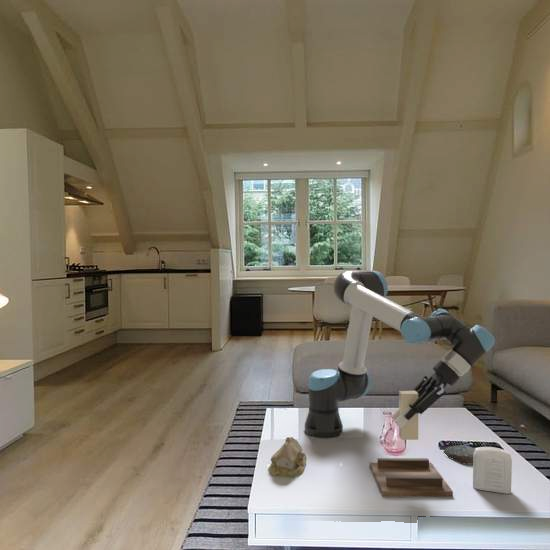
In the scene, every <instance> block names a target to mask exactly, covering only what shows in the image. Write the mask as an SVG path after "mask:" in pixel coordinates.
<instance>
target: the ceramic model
mask: <svg viewBox="0 0 550 550" xmlns="http://www.w3.org/2000/svg"><path fill="white" fill-rule="evenodd" d="M270 462H271V463H270V465H269V467H268V468H267V470H268V472H269V474H270V475H271V476H275V477H285V478H295V477H298V476H300V475H302V474H303V472H304V470H305V469H306V466H307V456H306V453H305V452H303V448H302V446H301V445H300V443H299V441H298V440H297V439H295V438H294V437H293V436H290V437H289V436H288V437H286V439H285V442H284V443H283V444H282V446H280V448H279V449H278V450H277V451H276V452H275V453H274V454H273V455H272V456H271V457H270Z"/></svg>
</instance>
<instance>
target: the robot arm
mask: <svg viewBox="0 0 550 550" xmlns="http://www.w3.org/2000/svg"><path fill="white" fill-rule="evenodd" d="M388 291H389V288H388V282H387V279H386V278H385V276H384V275H383V273H381V272H380V271H378V270H370V269H367V270H347V271H343V272H341V273H340V274H339V275H338V276H337V277H336V278H335V280H334V282H333V292H334V295H335V297H336V298H337V299H338V300H339V301H340V302H342V303H343V304H345V305H347V306H349V307H351V311H350V317H349V321H348V329H347V335H346V339H345V340H346V341H345V347H344V353H343V359H342V361H341V362H339V363H338V366H337V370H335V369H332V368H325V369H323V368H322V369H318V370H315V371H313V372H311V373H310V375H309V377H308V384H307V387H308V413H307V415H306V418H305V423H304V432H305V434H307V435H309V436H312V437H316V438H323V439H325V438H327V439H329V438H335V437H339V436H341V435H342V434H343V432H344V429H343V428H344V426H343V423H342V419H341V416H340V413H339V402H340V403H341V402H344V401H348V400H354V399H355V400H356V399H359V398H361V397H364V396H366V395H367V394H368V392H369V390H370V388H371V378H370V374H369V373H368V369H367V367H366V366H365V362H366V361H365V360H366V356H367V352H368V344H369V337H370V334H371V328H372V321H373V318H375V319H377V320H378V321H380V322H383V323H384V324H385V325H388V326H390V327H391V328H393V329H394V330H397V331H398V332H400V333H401V337H402V338H403V339H404V341H405V342H406V343H409V344H411V345H412V344H415V345H416V344H417V345H421V344H424V343H430V342H436V341H442V340H443V341H444V340H446V341H447V342H448V343H449V344H450V345H452V348H451V349H449V351H447V352H446V354H444V356H443V357H442V360H439V361H438V362H437V363H435V365H434V366H433V367H432V370H433V372H434V373H433V374H432V375H430V376H427V375H424V376H423V377H422V378H421V381H420V382H418V384H416V386H415V387H414V388H413V389H412V390H411V391H416V392H417V393H418V399H417V401H416V402H415V403H414V404H413V405H409V406H410V407H408V408H407V409H406V410H405V411H404V412H403V413H402V414H401V415H400V416H399V408H398V409H397V410H396V412H394V413H393V414H392V415H391V416H390V418H391V419H392V420H393V423H394V424H396V426H398V428H399V427H400V428H402V427H403V426H404V425H405V424H406V423H407V422H408V421H409V420H410V419H411V418H412V417H413V416H414V415H415V414H416V413H417V414H418V415H422V414H423V413H425V411H427V410H428V409H429V408H430V407H431V406H432V405H433V404H434V403H435V402H437V401H438V400H439V399H440V398H441V397H443V396H445V395H446V393H447V392H446V391H445V390H444V389H445V388H446V387H447V385H449V386H450V387H452V386H454V385H455V384H456V383H457V382H458V381H459V380H460V377H463V376H464V375H465V374H466V373H469V370H471V368H472V367H473V366H474V365H475V364H476V363H477V362H478V361H479V360H480V359H482V358H483V357H484V355H485V354H487V353H488V352H489V350H490V349H491V348H492V347H493V346H494V345H495V343H496V339H495V337H494V335H493V334H491V333H490V331H489V330H487V329H486V328H485V327H483V326H482V325H479V324H476V325H474V326H473V327H470V326H468V325H467V324H465V322H463V321H462V320H460V319H459V318H458V317H456V316H455V315H454V314H453V313H451V312H449V311H447V310H446V309H444V308H438V309H436V310H434V311H433V312H432V313H431V314H430V315H429V316H421V315H420V314H418V313H416V312H414V311H412V310H411V309H408V308H407V307H404V306H402V305H400V304H398V303H397V302H395V301H393V300H391V299H389V298H387V295H388Z"/></svg>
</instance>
